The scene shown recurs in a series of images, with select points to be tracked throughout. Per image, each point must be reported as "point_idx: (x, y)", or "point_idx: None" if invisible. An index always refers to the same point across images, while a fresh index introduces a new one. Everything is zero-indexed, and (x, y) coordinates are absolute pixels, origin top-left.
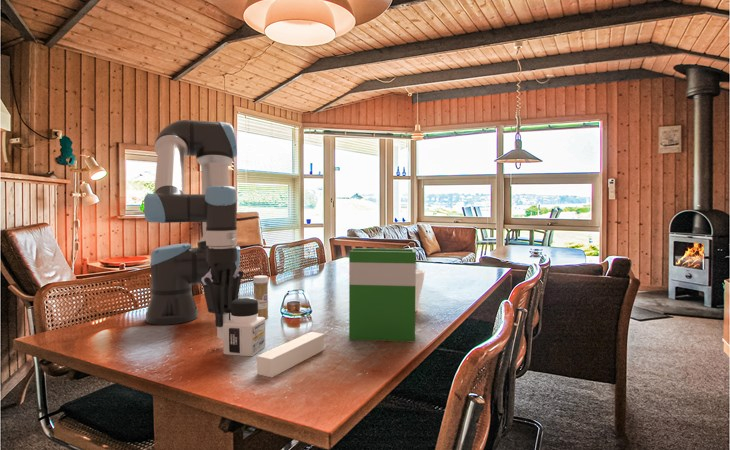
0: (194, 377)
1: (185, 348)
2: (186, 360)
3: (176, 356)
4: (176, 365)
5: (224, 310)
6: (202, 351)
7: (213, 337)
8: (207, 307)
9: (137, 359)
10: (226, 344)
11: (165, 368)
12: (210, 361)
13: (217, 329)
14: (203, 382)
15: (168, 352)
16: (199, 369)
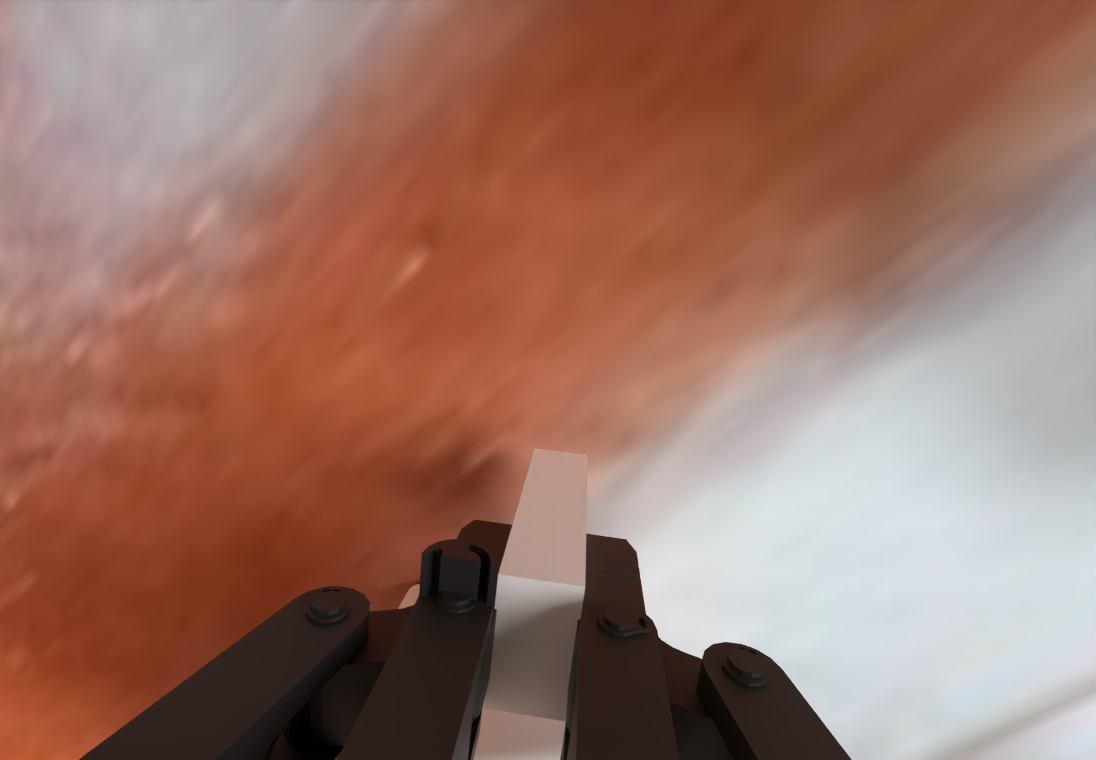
0: (59, 654)
1: (386, 221)
2: (209, 426)
3: (226, 298)
4: (115, 431)
5: (574, 667)
6: (394, 402)
7: (725, 232)
8: (240, 639)
9: (32, 58)
10: None
11: (46, 404)
12: (274, 582)
13: (526, 482)
14: (44, 733)
15: (254, 163)
16: (149, 605)
